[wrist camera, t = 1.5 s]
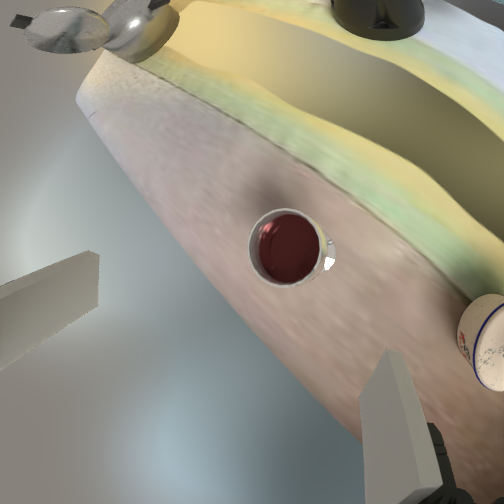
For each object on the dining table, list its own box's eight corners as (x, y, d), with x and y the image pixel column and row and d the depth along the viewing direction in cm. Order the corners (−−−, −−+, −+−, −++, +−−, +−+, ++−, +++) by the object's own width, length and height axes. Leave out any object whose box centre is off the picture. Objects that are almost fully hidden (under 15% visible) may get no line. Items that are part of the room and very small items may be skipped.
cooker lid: (131, 27, 39) (130, 32, 39) (81, 55, 46) (80, 60, 46) (34, -9, 19) (31, -3, 19) (0, 37, 27) (-2, 42, 27)
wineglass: (353, 262, 33) (339, 261, 23) (306, 291, 36) (269, 303, 25) (324, 214, 35) (295, 191, 24) (279, 244, 37) (233, 235, 27)
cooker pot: (183, 47, 47) (145, 16, 36) (107, 76, 58) (72, 58, 47) (203, -4, 47) (172, -34, 36) (127, 28, 58) (97, 9, 47)
